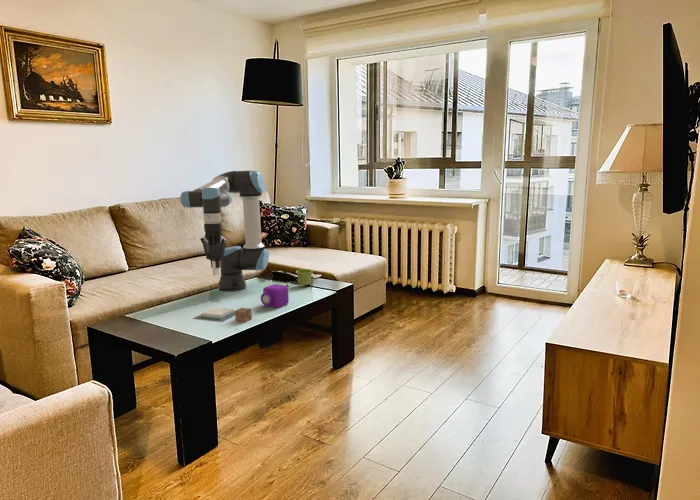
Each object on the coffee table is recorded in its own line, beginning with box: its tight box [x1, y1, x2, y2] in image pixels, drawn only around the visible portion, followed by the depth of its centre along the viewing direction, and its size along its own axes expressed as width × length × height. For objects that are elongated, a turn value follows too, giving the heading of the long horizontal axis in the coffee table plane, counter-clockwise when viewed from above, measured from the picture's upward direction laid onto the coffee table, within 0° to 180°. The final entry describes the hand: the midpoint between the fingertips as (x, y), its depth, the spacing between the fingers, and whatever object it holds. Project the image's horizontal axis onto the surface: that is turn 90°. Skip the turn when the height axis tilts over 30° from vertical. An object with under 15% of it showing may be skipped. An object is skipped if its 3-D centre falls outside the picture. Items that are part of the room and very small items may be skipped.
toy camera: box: [260, 283, 290, 309], centre depth 238 cm, size 11×14×10 cm
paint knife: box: [286, 272, 322, 284], centre depth 290 cm, size 30×14×2 cm, turn 155°
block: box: [234, 307, 253, 324], centre depth 217 cm, size 5×5×5 cm
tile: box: [201, 306, 235, 319], centre depth 224 cm, size 10×2×10 cm
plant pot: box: [295, 268, 313, 285], centre depth 276 cm, size 9×9×9 cm
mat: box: [191, 310, 236, 323], centre depth 224 cm, size 16×16×1 cm
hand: (216, 274), depth 220 cm, fingers closed
